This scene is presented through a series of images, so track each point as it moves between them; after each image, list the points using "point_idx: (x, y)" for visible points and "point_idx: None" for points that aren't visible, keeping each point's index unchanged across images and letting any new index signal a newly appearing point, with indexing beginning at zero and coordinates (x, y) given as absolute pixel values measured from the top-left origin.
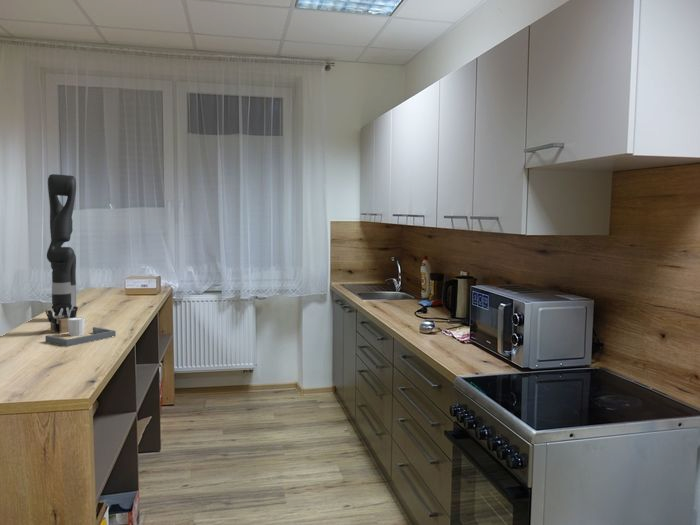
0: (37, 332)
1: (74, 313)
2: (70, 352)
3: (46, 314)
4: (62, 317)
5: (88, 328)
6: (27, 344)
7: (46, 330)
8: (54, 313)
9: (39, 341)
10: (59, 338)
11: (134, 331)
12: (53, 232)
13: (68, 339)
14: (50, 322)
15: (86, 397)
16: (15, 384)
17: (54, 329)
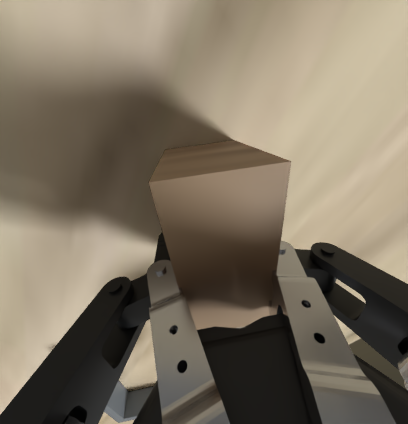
0: (63, 125)
1: (364, 333)
2: (115, 421)
3: (4, 410)
4: (269, 249)
5: (338, 228)
6: (4, 353)
7: (148, 93)
8: (156, 363)
9: (55, 335)
10: (105, 410)
11: (347, 341)
12: None
13: (126, 419)
14: (158, 164)
15: None
16: None
17: (159, 240)
